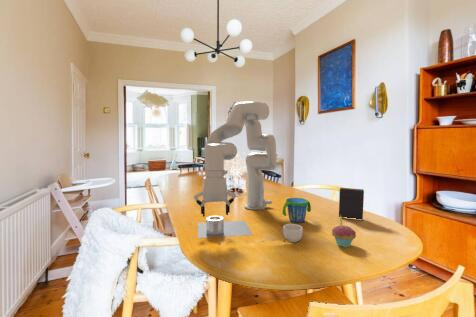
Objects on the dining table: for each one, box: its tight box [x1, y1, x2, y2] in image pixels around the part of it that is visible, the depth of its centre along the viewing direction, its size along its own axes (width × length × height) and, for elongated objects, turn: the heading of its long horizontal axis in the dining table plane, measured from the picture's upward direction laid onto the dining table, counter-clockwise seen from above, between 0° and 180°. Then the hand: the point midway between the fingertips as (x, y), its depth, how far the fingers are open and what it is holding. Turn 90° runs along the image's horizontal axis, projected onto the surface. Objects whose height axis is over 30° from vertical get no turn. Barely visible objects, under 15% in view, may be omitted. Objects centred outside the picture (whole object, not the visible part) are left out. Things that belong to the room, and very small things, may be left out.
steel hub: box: [205, 215, 225, 236], centre depth 109 cm, size 7×7×6 cm
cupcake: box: [331, 215, 357, 248], centre depth 100 cm, size 9×8×12 cm
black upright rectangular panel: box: [338, 187, 365, 220], centre depth 132 cm, size 11×4×15 cm, turn 65°
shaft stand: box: [197, 218, 254, 239], centre depth 114 cm, size 22×18×7 cm
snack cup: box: [282, 197, 312, 223], centre depth 129 cm, size 16×10×10 cm
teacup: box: [282, 223, 304, 243], centre depth 106 cm, size 10×8×5 cm
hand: (215, 214), depth 109 cm, fingers open, 9 cm apart
